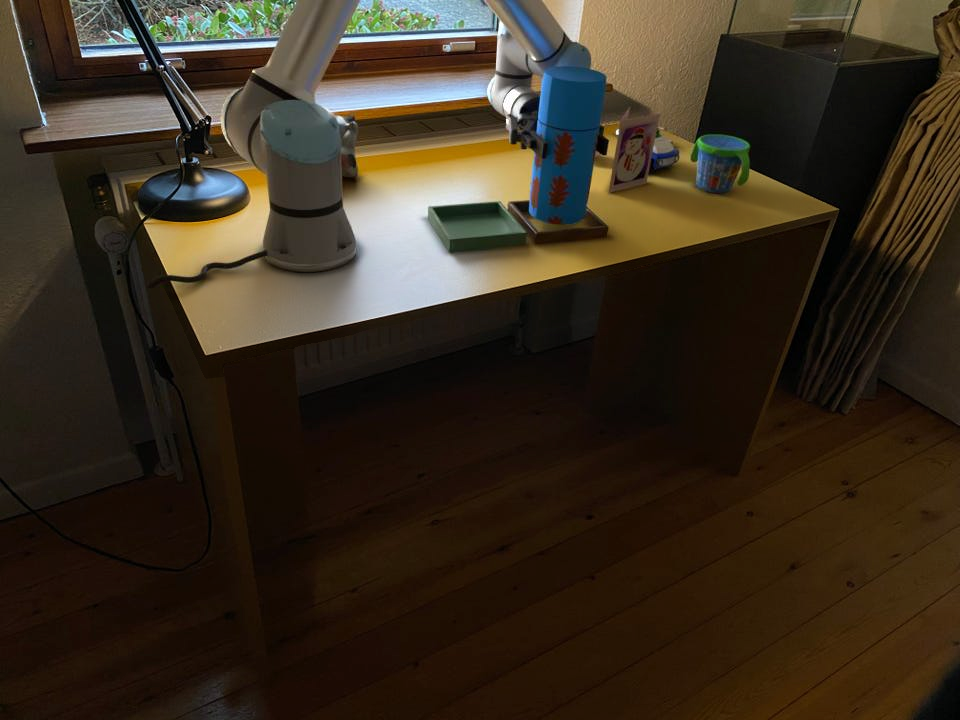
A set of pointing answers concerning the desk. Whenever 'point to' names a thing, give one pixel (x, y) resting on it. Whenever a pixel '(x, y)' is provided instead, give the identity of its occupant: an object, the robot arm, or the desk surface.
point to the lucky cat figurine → (348, 145)
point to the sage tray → (476, 226)
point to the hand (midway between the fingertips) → (575, 149)
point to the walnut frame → (564, 235)
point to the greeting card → (633, 151)
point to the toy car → (663, 152)
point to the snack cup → (720, 162)
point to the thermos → (566, 143)
